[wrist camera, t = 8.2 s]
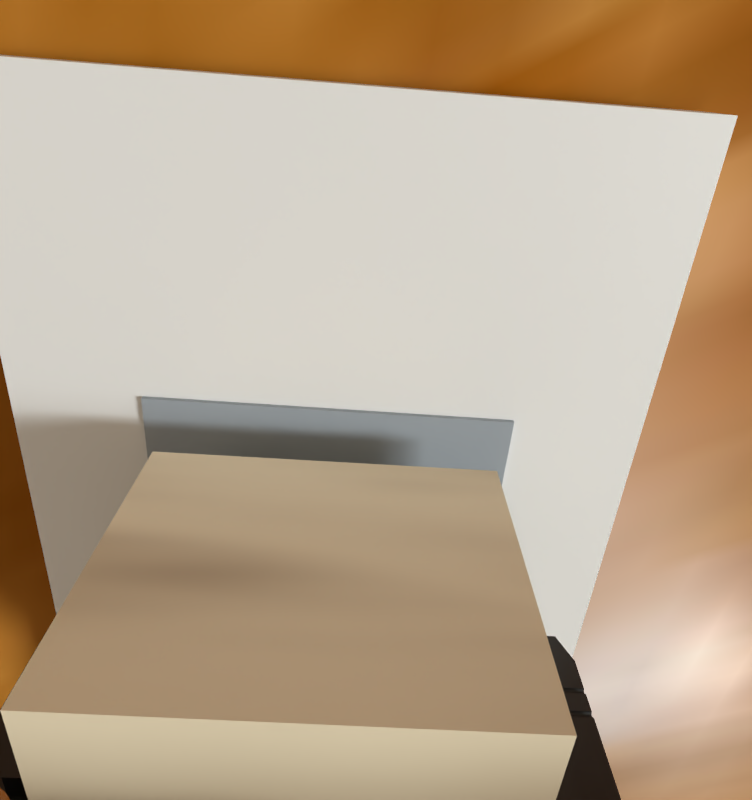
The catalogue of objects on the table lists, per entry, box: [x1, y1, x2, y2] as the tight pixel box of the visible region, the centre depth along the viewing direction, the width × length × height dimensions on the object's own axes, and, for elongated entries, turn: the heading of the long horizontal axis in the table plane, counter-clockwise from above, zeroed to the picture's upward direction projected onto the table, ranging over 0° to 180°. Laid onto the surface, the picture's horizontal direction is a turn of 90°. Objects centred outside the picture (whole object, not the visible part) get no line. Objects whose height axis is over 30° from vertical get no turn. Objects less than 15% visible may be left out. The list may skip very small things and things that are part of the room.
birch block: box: [0, 452, 577, 800], centre depth 10 cm, size 6×6×5 cm
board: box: [0, 55, 737, 657], centre depth 14 cm, size 18×12×1 cm, turn 176°
